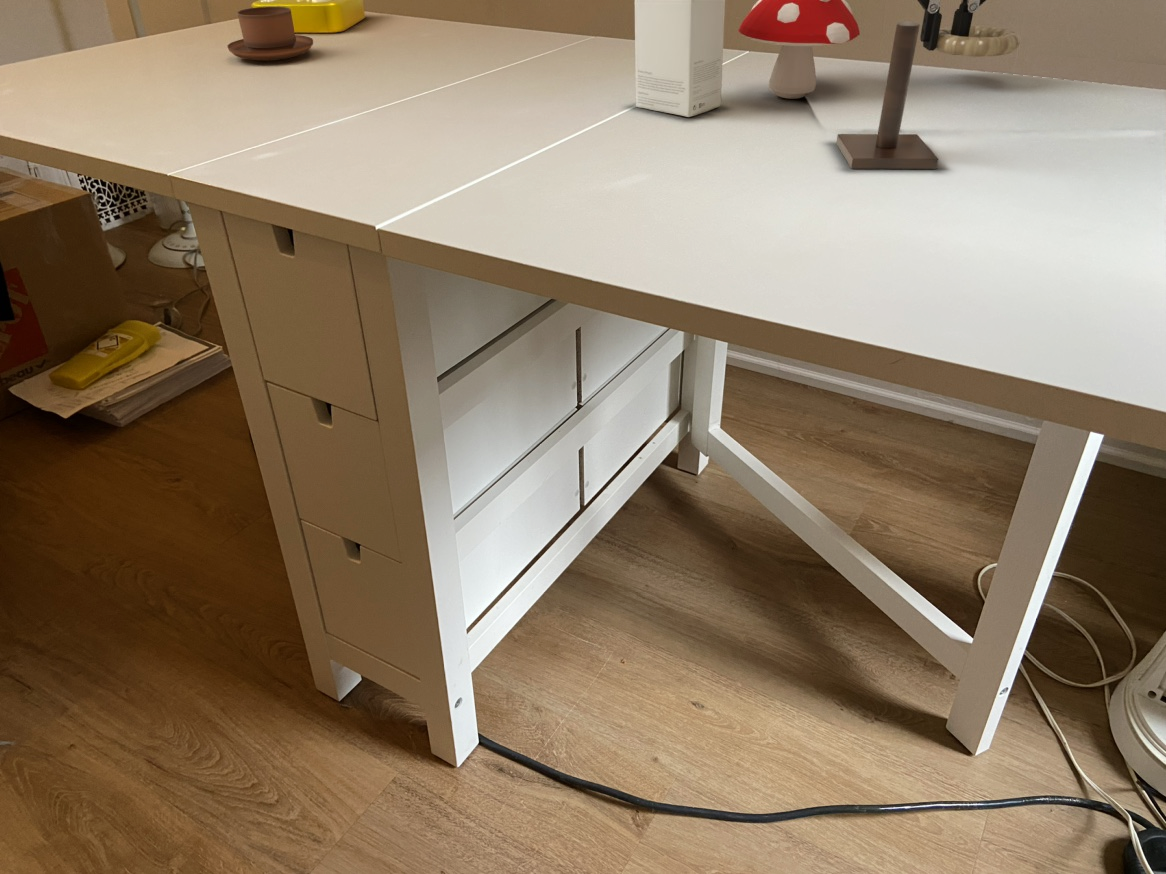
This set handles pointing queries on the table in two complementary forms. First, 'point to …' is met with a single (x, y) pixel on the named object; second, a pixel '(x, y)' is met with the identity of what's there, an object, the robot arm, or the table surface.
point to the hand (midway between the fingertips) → (942, 46)
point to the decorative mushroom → (798, 37)
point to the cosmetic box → (679, 55)
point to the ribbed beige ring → (978, 42)
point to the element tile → (320, 14)
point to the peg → (891, 118)
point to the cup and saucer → (268, 35)
